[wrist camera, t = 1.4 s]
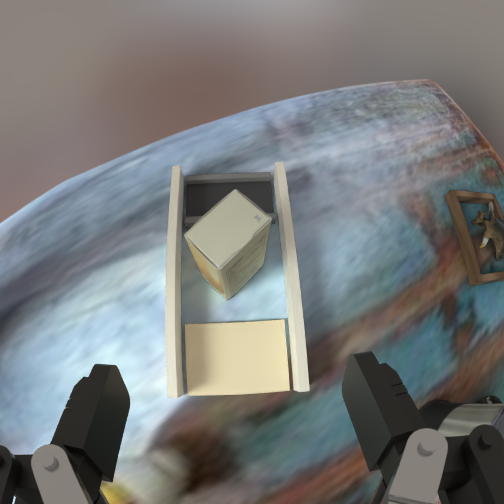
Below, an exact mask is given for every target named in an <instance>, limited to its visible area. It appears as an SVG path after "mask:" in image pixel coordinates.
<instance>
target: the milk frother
mask: <svg viewBox="0 0 504 504" xmlns="http://www.w3.org/2000/svg"><path fill="white" fill-rule="evenodd" d="M419 413H420V415H421V417H422V418H423V420H424V422H425V424H426V426H427V427H428V428H429V429H434V430H436V431H438V432H440V433H441V434H442V435H443V436H444V437H453V436H464V435H469V434H470V433H471V431H472V430H473V429H474V428H475V427H477V426H479V425H482V424H488V425H491V426H493V427H495V428H496V429H497V430H498V431H499V432H500V433H501V435H502V437H503V439H504V404H502V402H501V401H500V399H498V398H497V397H495V396H487V397H485V398H483V399H481V400H480V401H479V402H478V403H477V404H461V403H450V402H448V401H446V400H435V401H432V402H430V403H428V404H426V405H425V406H423V407H422V408H421V409H420V410H419Z"/></svg>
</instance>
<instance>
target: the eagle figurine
mask: <svg viewBox="0 0 504 504" xmlns="http://www.w3.org/2000/svg"><path fill="white" fill-rule="evenodd" d="M482 208H483V210H482V212H481V213H480V211H478V214H477V217H476V219H475V220H472V221H471V222H472V223H473V224H474V225H480V226H482V227H483V228H484V229H485V231H484V236H483V241H482V244H481V246H480V248H482V247H484V246H485V245H486V244H487V242H488V240H489V239H490V238H492V239H493V241H494V244H495V249H496V256H497V261H501V259H502V256H503V258H504V220H503V219H499V218H495V217H494V214H493V210H494V207H493V204H492V202H490V204H489V219H486V218H485V216H486V214H485V210H484V207H483V206H482Z"/></svg>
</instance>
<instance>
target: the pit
mask: <svg viewBox="0 0 504 504" xmlns="http://www.w3.org/2000/svg"><path fill="white" fill-rule="evenodd" d="M270 180H271V174H270V172H262V173H230V174H208V175H192V176H187V204H186V217H185V226H186V227H192V226H193V225H194V224H195V223H196V222H198V221H199V220H200V219H201V218H202V217H203V216H204V215H205V214H206V213H207V212H208V211H209V210H211V209H212V208H213V207H214V206H215V205H216V204H217V203H218V202H220V201H221V200H222V199H223V198H224V197H226V196H227V195H228V194H229V193H231V192H232V191H233V190H238V191H239V192H240V193H242V194H243V195H245V196H246V197H247V198H248V199H250V200H251V201H252V202H253V203H254V204H256V205H257V206H258V207H259V208H260V209H261V210H263V211H264V212H265V213H266V214H267V215H268V216H270V217H271V218H272V221H271V224H275V220H276V218H275V213H274V210H273V201H272V192H271V183H270Z"/></svg>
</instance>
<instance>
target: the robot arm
mask: <svg viewBox="0 0 504 504" xmlns="http://www.w3.org/2000/svg"><path fill="white" fill-rule="evenodd" d="M407 392H408V391H407V389H406V388H405V386H404V385H403V382H402V381H401V379H400V377H399V375H398V374H397V372H396V371H395V370H394V369H392V368H391V367H390V366H389V365H388V364H386V363H383V364H379V363H378V361H377V359H376V357H375V355H374V354H373V353H372V352H371V351H369V352H363V353H357V354H351V355H350V356H349V358H348V362H347V366H346V370H345V375H344V379H343V383H342V394H343V399H344V402H345V404H346V407H347V410H348V413H349V415H350V418H351V421H352V423H353V426H354V429H355V432H356V435H357V437H358V440H359V443H360V446H361V449H362V451H363V454H364V457H365V460H366V463H367V466H368V469H369V471H370V472H371V471H374V470H378V469H380V470H381V473H382V477H381V479H380V481H379V483H378V486H377V488H376V490H375V492H374V495H373V497H372V499H371V501H370V503H369V504H434V501H435V498H436V494H437V492H438V495H439V498H440V501H441V504H504V439H503V437H502V435H501V433H500V432H499V431H498V430H497V429H496V428H495V427H493V426H491V425H488V424H482V425H479V426H477V427H475V428H474V429H473V430H472V431H471V433H470V434H469V435H464V436H453V437H444V436H443V435H442V434H441V433H440V432H438V431H436V430H434V429H429V428H428V427H427V426H426V424H425V422H424V420H423V418H422V417H421V415H420V413H419V411H418V409H417V407H416V406H415V404H414V402H413V400H412V398H411V396H410V395H409V394H408V393H407ZM69 398H70V399H69V400H68V402H67V404H66V406H65V407H66V409H64V411H63V414H62V416H61V418H60V421H59V423H58V426H57V428H56V431H55V433H54V436H53V439H52V441H51V443H50V444H48V445H44V446H41V447H40V448H38V449H37V450H36V451H35V452H34V454H32V455H13V454H12V453H11V452H10V451H9V450H8V449H7V448H6V447H4V446H1V445H0V504H12V502H13V498H14V496H15V497H16V499H15V503H14V504H109V503H108V501H107V499H106V497H105V496H104V494H103V492H102V490H101V489H100V485H101V481H102V480H103V481H108V482H113V477H114V473H115V468H116V463H117V459H118V454H119V450H120V445H121V441H122V437H123V433H124V429H125V425H126V421H127V417H128V413H129V409H130V397H129V393H128V391H127V388H126V386H125V384H124V381H123V379H122V377H121V374H120V372H119V369H118V367H117V366H116V365H106V364H95V365H94V366H93V368H92V371H91V373H90V375H89V377H83V378H82V379H81V380H80V381H79V382H78V383H77V384H76V385H75V386H74V388H73V390H72V393H71V395H70V397H69Z"/></svg>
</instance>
